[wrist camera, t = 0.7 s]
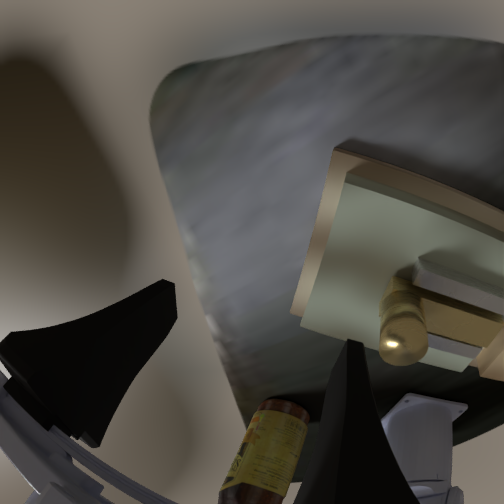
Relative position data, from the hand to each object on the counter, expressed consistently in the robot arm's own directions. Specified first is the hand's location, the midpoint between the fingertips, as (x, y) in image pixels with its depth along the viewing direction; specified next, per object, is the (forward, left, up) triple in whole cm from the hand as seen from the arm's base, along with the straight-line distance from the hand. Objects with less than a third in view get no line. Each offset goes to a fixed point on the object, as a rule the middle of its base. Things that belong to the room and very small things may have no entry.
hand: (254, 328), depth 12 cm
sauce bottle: (-22, -4, -10) cm, 25 cm away
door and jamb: (0, -14, -9) cm, 17 cm away
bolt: (0, -10, -6) cm, 11 cm away
